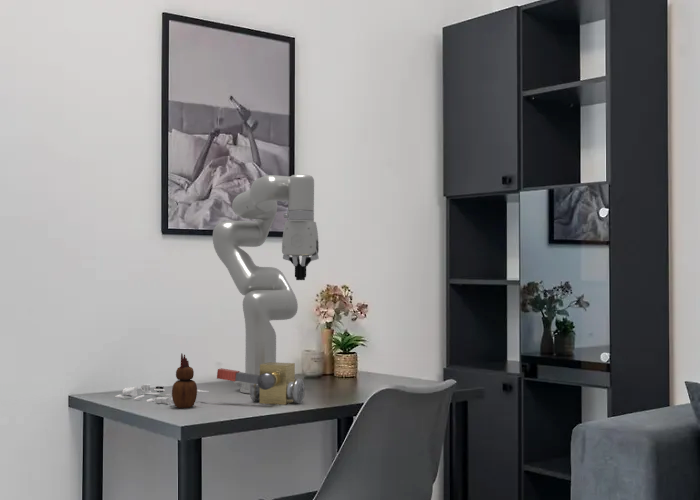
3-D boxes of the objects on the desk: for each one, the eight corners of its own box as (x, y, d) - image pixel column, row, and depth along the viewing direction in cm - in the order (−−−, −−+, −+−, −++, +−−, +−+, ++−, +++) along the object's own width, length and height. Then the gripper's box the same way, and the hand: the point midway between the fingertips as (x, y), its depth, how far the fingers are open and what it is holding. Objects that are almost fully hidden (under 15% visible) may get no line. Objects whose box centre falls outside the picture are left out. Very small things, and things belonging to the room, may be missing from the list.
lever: (271, 390, 247) (216, 381, 252) (275, 389, 250) (220, 380, 255) (273, 375, 247) (217, 366, 252) (277, 373, 250) (222, 365, 255)
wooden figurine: (181, 410, 241) (182, 354, 242) (168, 407, 245) (168, 352, 245) (200, 407, 246) (201, 352, 247) (187, 405, 250) (187, 351, 251)
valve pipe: (245, 404, 252) (246, 365, 253) (259, 399, 262) (259, 361, 262) (292, 406, 248) (292, 366, 249) (304, 401, 258) (304, 363, 258)
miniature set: (214, 400, 255) (182, 412, 245) (136, 396, 276) (103, 407, 267) (211, 378, 254) (179, 389, 245) (132, 376, 276) (100, 386, 266)
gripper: (272, 216, 260) (271, 280, 259) (321, 216, 255) (320, 280, 255) (281, 218, 267) (281, 279, 266) (329, 217, 262) (328, 280, 262)
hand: (300, 279), depth 261 cm, fingers closed
